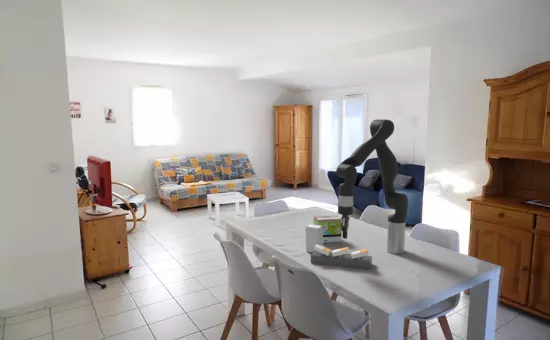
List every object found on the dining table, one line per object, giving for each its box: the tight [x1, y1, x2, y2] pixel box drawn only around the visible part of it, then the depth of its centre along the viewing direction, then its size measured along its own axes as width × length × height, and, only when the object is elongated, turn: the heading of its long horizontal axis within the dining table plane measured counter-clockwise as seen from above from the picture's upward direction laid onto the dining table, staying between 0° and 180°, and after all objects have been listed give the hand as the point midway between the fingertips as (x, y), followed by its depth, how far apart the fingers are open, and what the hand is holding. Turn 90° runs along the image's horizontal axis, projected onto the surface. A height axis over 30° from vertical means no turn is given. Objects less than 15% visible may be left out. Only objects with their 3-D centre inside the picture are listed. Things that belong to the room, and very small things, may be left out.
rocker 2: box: [331, 246, 350, 256], centre depth 191 cm, size 4×8×2 cm, turn 71°
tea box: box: [313, 214, 343, 244], centre depth 230 cm, size 15×10×15 cm, turn 102°
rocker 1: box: [314, 244, 332, 256], centre depth 194 cm, size 4×8×2 cm, turn 71°
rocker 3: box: [350, 248, 369, 259], centre depth 188 cm, size 4×8×2 cm, turn 71°
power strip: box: [310, 250, 373, 270], centre depth 194 cm, size 8×30×5 cm, turn 71°
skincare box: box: [304, 224, 324, 254], centre depth 211 cm, size 8×6×15 cm
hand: (344, 238), depth 190 cm, fingers closed
